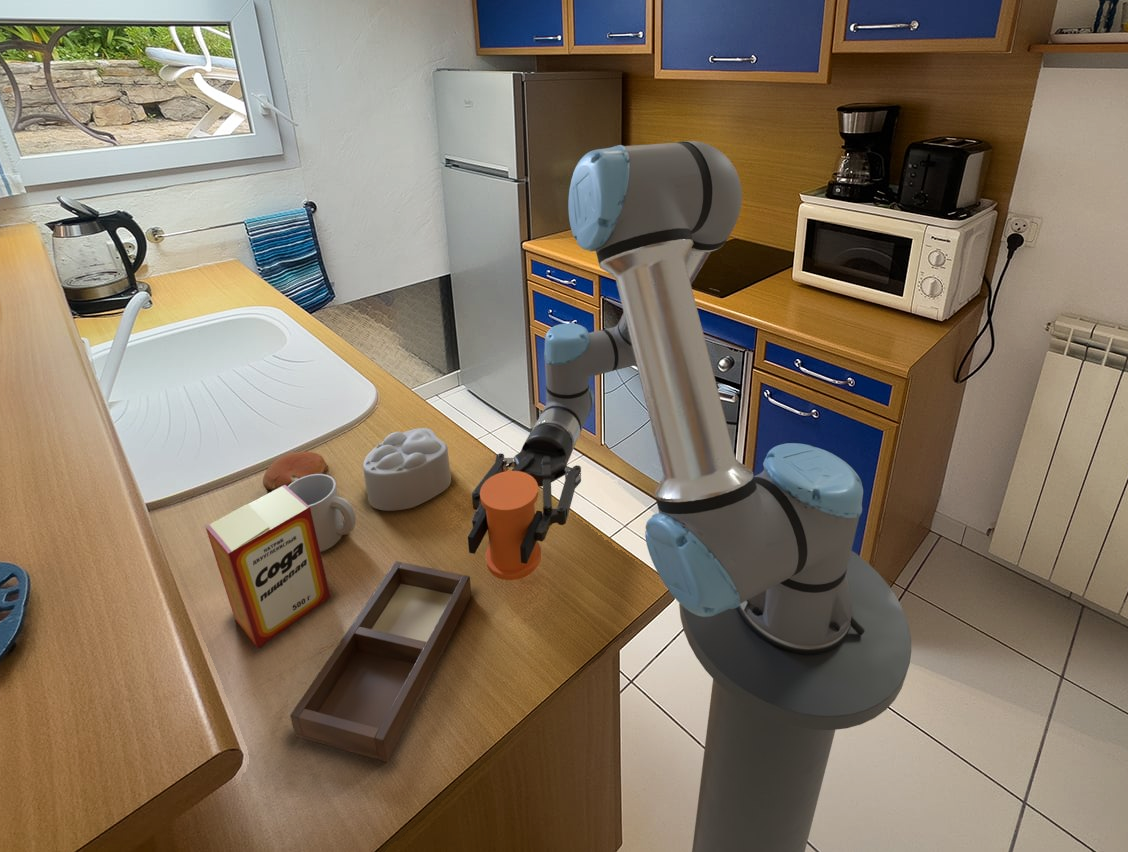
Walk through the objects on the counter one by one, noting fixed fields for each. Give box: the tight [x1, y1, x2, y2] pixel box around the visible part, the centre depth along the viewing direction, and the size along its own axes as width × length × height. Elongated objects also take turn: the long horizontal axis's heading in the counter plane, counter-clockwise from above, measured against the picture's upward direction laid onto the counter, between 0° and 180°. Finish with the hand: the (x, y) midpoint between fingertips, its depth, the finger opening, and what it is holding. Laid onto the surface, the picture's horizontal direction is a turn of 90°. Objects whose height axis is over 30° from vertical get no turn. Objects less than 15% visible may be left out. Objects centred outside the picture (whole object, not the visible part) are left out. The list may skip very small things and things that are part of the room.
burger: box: [262, 451, 330, 494], centre depth 100 cm, size 10×9×5 cm
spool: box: [480, 470, 542, 581], centre depth 81 cm, size 8×8×12 cm
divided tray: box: [289, 560, 472, 763], centre depth 72 cm, size 11×21×4 cm, turn 167°
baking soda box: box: [205, 485, 331, 649], centre depth 76 cm, size 10×6×16 cm
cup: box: [287, 474, 357, 553], centre depth 89 cm, size 7×10×9 cm
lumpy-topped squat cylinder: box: [362, 427, 452, 512], centre depth 99 cm, size 10×13×9 cm
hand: (497, 550), depth 76 cm, fingers closed on spool, 6 cm apart
